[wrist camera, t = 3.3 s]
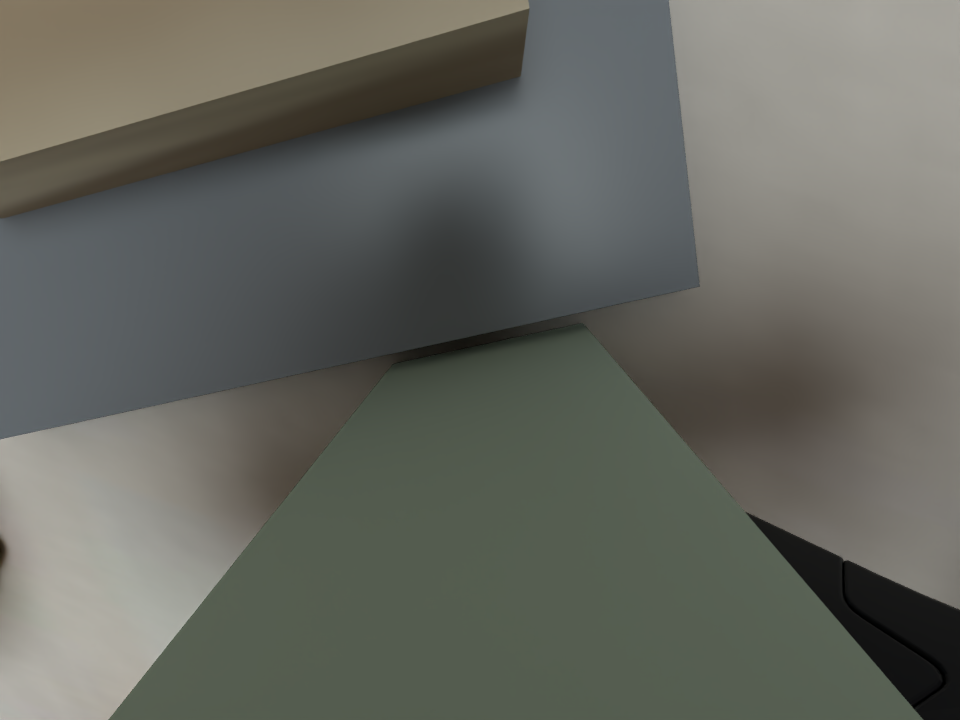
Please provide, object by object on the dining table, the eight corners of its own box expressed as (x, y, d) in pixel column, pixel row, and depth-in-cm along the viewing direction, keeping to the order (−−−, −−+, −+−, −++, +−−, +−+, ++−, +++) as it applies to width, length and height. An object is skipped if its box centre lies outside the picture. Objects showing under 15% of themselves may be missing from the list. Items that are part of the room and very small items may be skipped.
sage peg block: (613, 495, 13) (935, 1261, 3) (440, 526, 13) (288, 1264, 4) (582, 322, 12) (956, 760, 2) (393, 364, 12) (-11, 868, 3)
